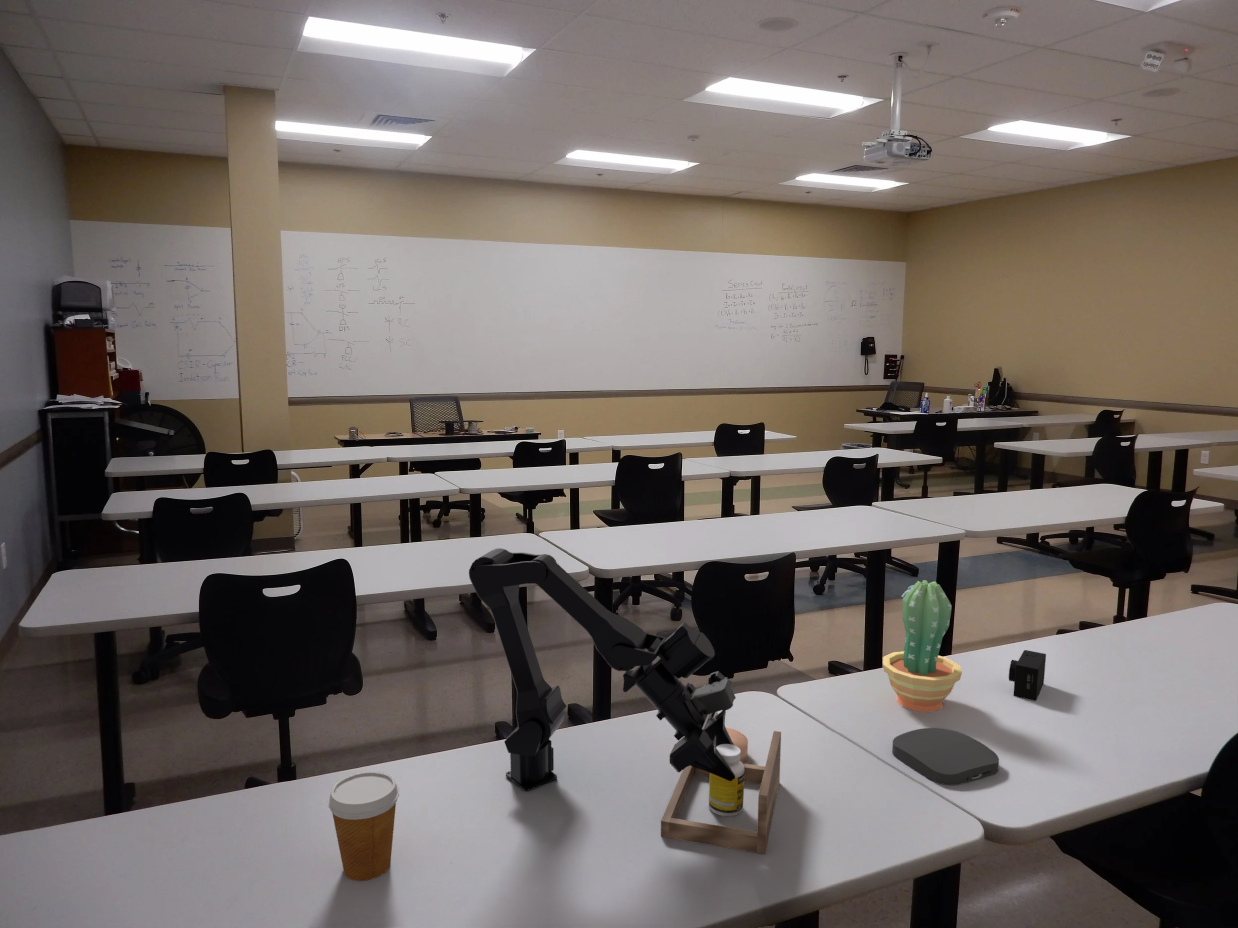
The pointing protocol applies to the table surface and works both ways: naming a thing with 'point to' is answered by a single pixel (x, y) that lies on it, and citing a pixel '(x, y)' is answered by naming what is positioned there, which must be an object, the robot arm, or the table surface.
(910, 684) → the potted cactus
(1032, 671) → the digital camera
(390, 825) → the disposable coffee cup
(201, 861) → the table surface
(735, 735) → the terracotta stand
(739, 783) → the supplement bottle
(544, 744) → the robot arm
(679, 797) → the brown wooden frame
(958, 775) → the media streaming box
